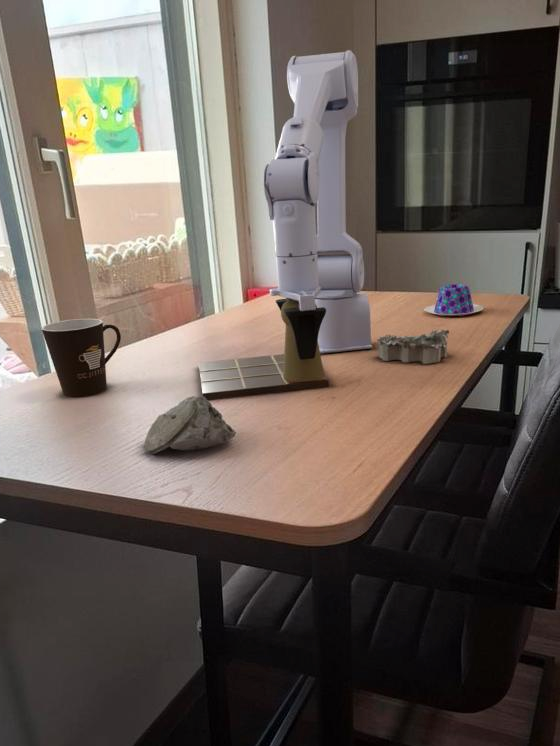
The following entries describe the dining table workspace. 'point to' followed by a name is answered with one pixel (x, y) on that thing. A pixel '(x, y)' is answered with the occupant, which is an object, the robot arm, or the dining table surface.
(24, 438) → the dining table surface
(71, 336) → the coffee mug
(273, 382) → the board
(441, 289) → the pudding
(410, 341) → the egg carton
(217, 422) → the fossilized seashell
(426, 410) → the dining table surface
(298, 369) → the olive pawn
